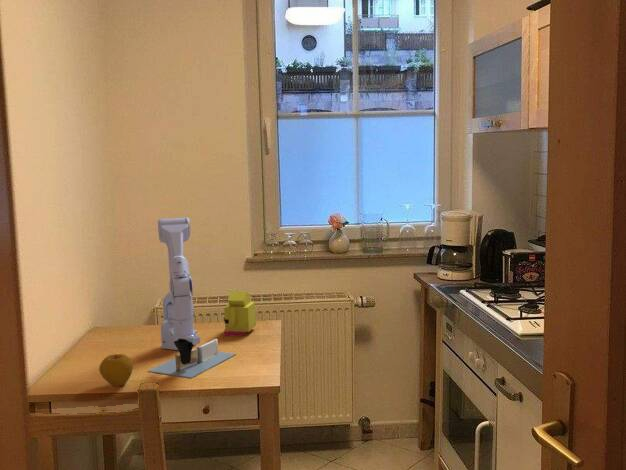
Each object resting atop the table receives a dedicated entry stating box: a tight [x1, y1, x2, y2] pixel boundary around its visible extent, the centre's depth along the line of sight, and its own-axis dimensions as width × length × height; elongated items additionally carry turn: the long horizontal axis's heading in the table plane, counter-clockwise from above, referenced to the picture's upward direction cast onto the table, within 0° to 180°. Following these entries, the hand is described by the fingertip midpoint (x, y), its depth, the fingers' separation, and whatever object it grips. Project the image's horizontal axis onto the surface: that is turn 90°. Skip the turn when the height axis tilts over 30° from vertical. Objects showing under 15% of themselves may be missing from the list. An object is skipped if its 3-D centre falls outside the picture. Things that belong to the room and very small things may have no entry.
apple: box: [98, 353, 134, 387], centre depth 180 cm, size 9×9×9 cm
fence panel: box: [174, 347, 198, 371], centre depth 193 cm, size 8×1×5 cm, turn 146°
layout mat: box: [147, 351, 237, 379], centre depth 198 cm, size 16×23×1 cm
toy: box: [223, 290, 257, 337], centre depth 230 cm, size 13×10×15 cm
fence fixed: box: [195, 338, 219, 363], centre depth 201 cm, size 1×10×5 cm, turn 154°
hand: (186, 363), depth 191 cm, fingers closed, pressing on fence panel
